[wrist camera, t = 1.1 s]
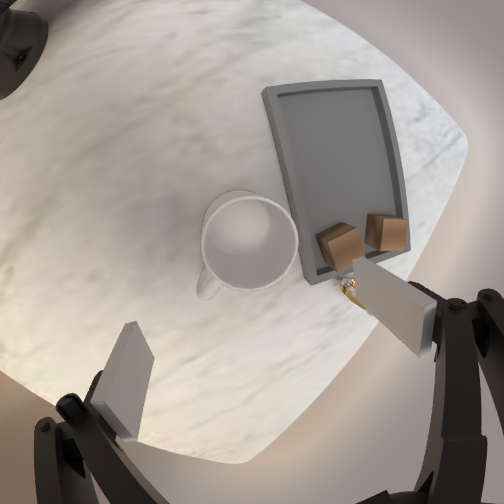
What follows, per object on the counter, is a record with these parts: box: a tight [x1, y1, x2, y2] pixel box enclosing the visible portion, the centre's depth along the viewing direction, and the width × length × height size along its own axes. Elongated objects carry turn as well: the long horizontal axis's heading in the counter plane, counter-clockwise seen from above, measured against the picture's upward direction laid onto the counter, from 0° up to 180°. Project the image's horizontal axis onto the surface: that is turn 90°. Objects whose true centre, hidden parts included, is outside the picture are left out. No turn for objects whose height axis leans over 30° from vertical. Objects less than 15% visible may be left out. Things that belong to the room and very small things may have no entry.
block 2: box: [364, 214, 408, 251], centre depth 33 cm, size 4×4×4 cm
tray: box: [262, 79, 411, 285], centre depth 32 cm, size 24×16×2 cm, turn 14°
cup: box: [197, 190, 298, 300], centre depth 28 cm, size 8×12×10 cm
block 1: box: [315, 222, 366, 272], centre depth 32 cm, size 4×4×4 cm
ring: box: [340, 278, 373, 316], centre depth 34 cm, size 7×3×8 cm, turn 66°
